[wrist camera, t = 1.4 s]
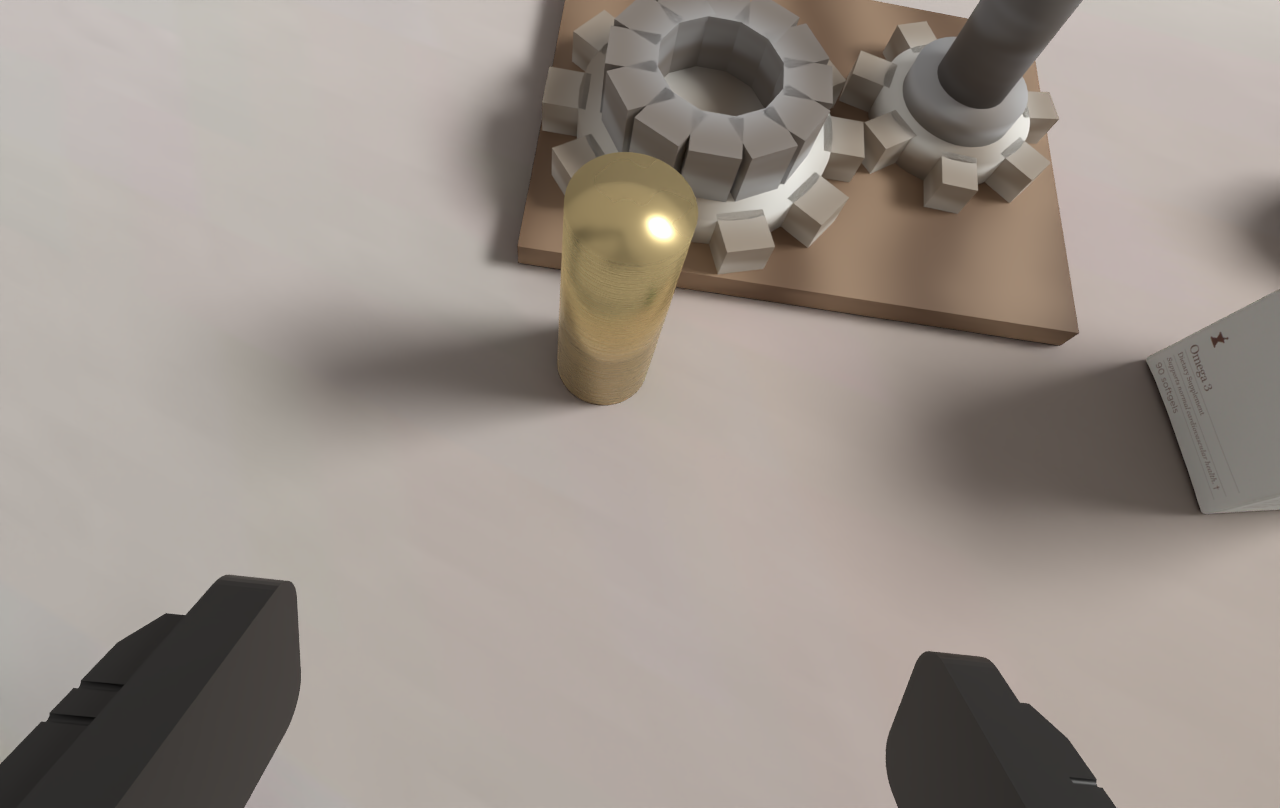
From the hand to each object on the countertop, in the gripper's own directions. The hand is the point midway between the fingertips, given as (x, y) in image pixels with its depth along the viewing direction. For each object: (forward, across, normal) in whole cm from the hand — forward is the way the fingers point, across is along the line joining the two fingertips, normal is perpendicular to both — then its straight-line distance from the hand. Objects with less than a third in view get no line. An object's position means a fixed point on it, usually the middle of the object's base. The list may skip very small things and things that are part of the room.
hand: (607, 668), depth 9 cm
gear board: (+28, -8, -6) cm, 30 cm away
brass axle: (+19, 0, +3) cm, 19 cm away
